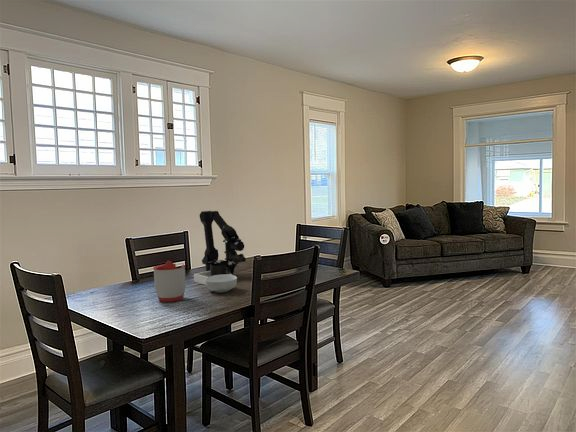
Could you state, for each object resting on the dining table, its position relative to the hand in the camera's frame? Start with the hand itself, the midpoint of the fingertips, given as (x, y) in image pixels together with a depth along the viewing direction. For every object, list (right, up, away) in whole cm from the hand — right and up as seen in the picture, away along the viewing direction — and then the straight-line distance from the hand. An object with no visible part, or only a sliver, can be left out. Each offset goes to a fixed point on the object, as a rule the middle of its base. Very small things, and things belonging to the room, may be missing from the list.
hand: (231, 275), depth 273 cm
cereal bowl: (-1, -5, -31) cm, 31 cm away
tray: (-9, -2, -8) cm, 13 cm away
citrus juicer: (-25, -6, -44) cm, 51 cm away
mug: (-6, -2, -5) cm, 8 cm away
